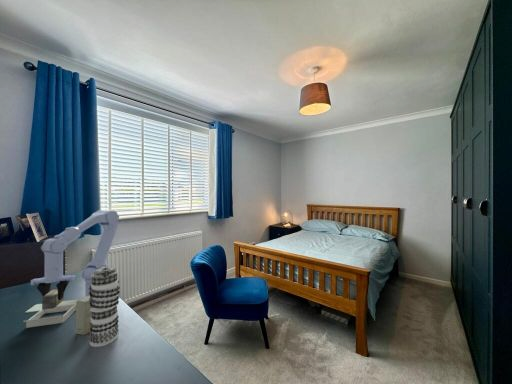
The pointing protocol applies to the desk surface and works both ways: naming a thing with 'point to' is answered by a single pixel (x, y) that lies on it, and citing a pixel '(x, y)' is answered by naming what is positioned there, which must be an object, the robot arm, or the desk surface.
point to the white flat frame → (63, 306)
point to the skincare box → (83, 315)
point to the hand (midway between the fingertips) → (53, 299)
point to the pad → (35, 308)
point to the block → (51, 300)
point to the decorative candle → (104, 306)
